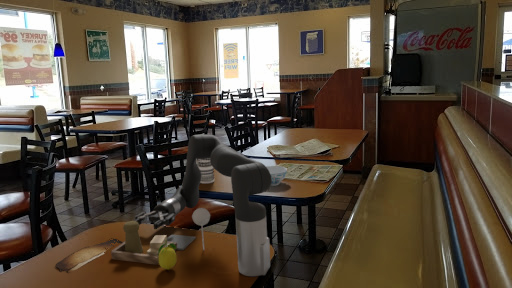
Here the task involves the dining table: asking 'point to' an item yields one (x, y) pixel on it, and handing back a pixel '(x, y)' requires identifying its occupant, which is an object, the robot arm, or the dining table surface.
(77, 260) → the parchment
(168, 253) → the lemon
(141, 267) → the dining table surface
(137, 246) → the cork
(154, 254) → the offcut lower
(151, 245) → the offcut upper
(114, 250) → the frame
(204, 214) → the lollipop
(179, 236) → the pad
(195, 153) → the robot arm
